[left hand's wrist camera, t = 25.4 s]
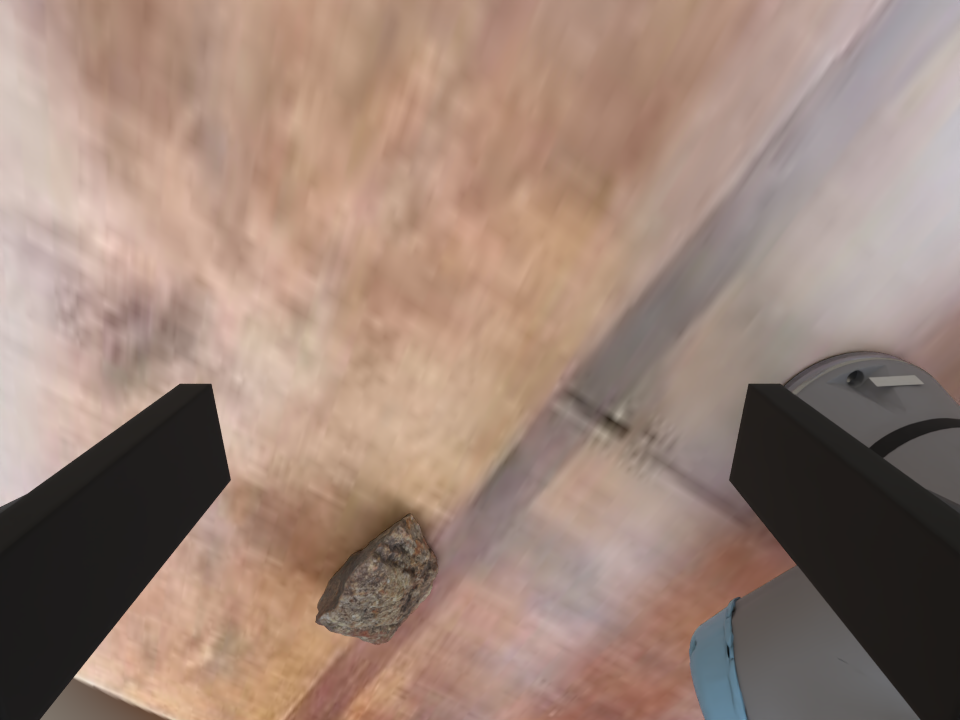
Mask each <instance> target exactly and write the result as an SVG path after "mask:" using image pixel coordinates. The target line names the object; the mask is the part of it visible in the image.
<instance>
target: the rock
mask: <svg viewBox="0 0 960 720" xmlns="http://www.w3.org/2000/svg"><path fill="white" fill-rule="evenodd" d="M437 573H438V565H437V562H436V557H435V555H434V553H433V551H432V550H431V549H430V548H429V546H428V545H427V543H426V540H425V538H424V537H423V535H422V531H421V529H420V525H419V524H418V523H417V522H416V520H415V519H414V518H413V516H412V514H407V515H406V516H405V517H404V518H402V519H401V520H400V521H398V522H397V523H395V524H393V525H392V526H391V527H390V528H389V529H387V530H386V531H384V532H383V533H381V534H380V535H379V536H378V537H377V538H376V539H374V540H372V541H371V542H370V543H369V545H368V546H367V547H366V548H364V549H363V550H362V551H358V552H356V553H354V554H352V555H351V556H350V557H349V559H348V560H347V561H346V562H345V564H344V565H343V566H342V567H341V569H340V570H339V571H338V572H336V573H335V575H334V576H333V577H332V578H331V579H330V581H329V583H328V586H327V588H326V590H325V592H324V594H323V595H322V597H321V599H320V600H319V602H318V606H317V608H318V611H319V612H318V614H317V616H316V621H315V622H316V623H317V624H319V625H323V626H325V627H326V628H327V629H328V630H329V631H331V632H335V633H339V634H342V635H345V636H352V637H358V638H360V639H361V640H363V641H366V642H370V643H373V644H376V645H380V644H382V643H385V642H388V641H389V640H390V639H391V638H392V636H393V635H394V633H395V632H396V631H397V629H398V627H399V626H401V624H402V623H403V622H404V621H405V620H406V619H407V618H408V616H409V614H412V613H413V612H414V611H415V610H416V609H417V608H418V606H419V604H420V603H421V602H423V601H424V600H425V599H426V598H427V597H428V596H429V594H430V592H431V588H432V583H433V580H434V579H435V577H436V574H437Z"/></svg>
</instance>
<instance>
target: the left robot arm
mask: <svg viewBox="0 0 960 720" xmlns="http://www.w3.org/2000/svg"><path fill="white" fill-rule="evenodd" d="M230 480H231V479H230V474H229V469H228V464H227V459H226V454H225V449H224V444H223V439H222V434H221V429H220V424H219V419H218V414H217V409H216V404H215V399H214V394H213V389H212V384H179V385H178V386H176V387H175V388H174V389H172V390H171V391H169V392H168V393H167V394H165V395H164V396H162V397H161V398H160V399H158V400H157V401H156V402H154V403H153V404H151V405H150V406H149V407H147V408H146V409H144V410H143V411H142V412H140V413H139V414H137V415H136V416H135V417H133V418H132V419H131V420H129V421H128V422H126V423H125V424H124V425H122V426H121V427H119V428H118V429H117V430H115V431H114V432H113V433H111V434H110V435H108V436H107V437H106V438H104V439H103V440H101V441H100V442H99V443H97V444H96V445H94V446H93V447H92V448H90V449H89V450H88V451H86V452H85V453H83V454H82V455H81V456H79V457H78V458H76V459H75V460H74V461H72V462H71V463H69V464H68V465H67V466H65V467H64V468H63V469H61V470H60V471H58V472H57V473H56V474H54V475H53V476H51V477H50V478H49V479H47V480H46V481H45V482H43V483H42V484H40V485H39V486H38V487H36V488H35V489H33V490H32V491H31V492H29V493H28V494H26V495H24V496H22V497H20V498H18V499H16V500H14V501H12V502H10V503H8V504H6V505H4V506H1V507H0V720H40V719H41V717H42V716H43V715H44V714H45V712H46V711H47V710H48V709H49V707H50V706H51V705H52V704H53V702H54V701H55V700H56V699H57V697H58V696H59V695H60V694H61V692H62V691H63V690H64V689H65V687H66V686H67V685H68V684H69V682H70V681H71V680H72V679H73V677H74V676H75V675H76V674H77V672H78V671H79V670H80V669H81V667H82V666H83V665H84V663H85V662H86V661H87V660H88V658H89V657H90V656H91V655H92V653H93V652H94V651H95V650H96V648H97V647H98V646H99V645H100V643H101V642H102V641H103V640H104V638H105V637H106V636H107V635H108V633H109V632H110V631H111V630H112V628H113V627H114V626H115V625H116V623H117V622H118V621H119V620H120V618H121V617H122V616H123V615H124V613H125V612H126V611H127V610H128V608H129V607H130V606H131V605H132V603H133V602H134V601H135V600H136V598H137V597H138V596H139V595H140V593H141V592H142V591H143V590H144V588H145V587H146V586H147V585H148V583H149V582H150V581H151V579H152V578H153V577H154V576H155V574H156V573H157V572H158V571H159V569H160V568H161V567H162V566H163V564H164V563H165V562H166V561H167V559H168V558H169V557H170V556H171V554H172V553H173V552H174V551H175V549H176V548H177V547H178V546H179V544H180V543H181V542H182V541H183V539H184V538H185V537H186V536H187V534H188V533H189V532H190V531H191V529H192V528H193V527H194V526H195V524H196V523H197V522H198V521H199V519H200V518H201V517H202V516H203V514H204V513H205V512H206V511H207V509H208V508H209V507H210V506H211V504H212V503H213V502H214V501H215V499H216V498H217V497H218V496H219V494H220V493H221V492H222V490H223V489H224V488H225V487H226V485H227V484H228V483H229V482H230ZM729 480H730V482H731V483H732V484H733V485H734V487H735V488H736V489H737V490H738V492H739V493H740V494H741V496H742V497H743V498H744V499H745V501H746V502H747V503H748V504H749V506H750V507H751V508H752V509H753V511H754V512H755V513H756V514H757V516H758V517H759V518H760V519H761V521H762V522H763V523H764V524H765V526H766V527H767V528H768V529H769V531H770V532H771V533H772V534H773V536H774V537H775V538H776V539H777V541H778V542H779V543H780V544H781V546H782V547H783V548H784V549H785V551H786V552H787V553H788V554H789V556H790V557H791V558H792V559H793V561H794V562H795V563H796V564H797V565H796V566H795V567H793V568H791V569H790V570H788V571H786V572H785V573H783V574H781V575H780V576H778V577H776V578H774V579H773V580H771V581H769V582H768V583H766V584H764V585H763V586H761V587H759V588H758V589H756V590H754V591H753V592H751V593H749V594H747V595H746V596H744V597H742V598H740V597H737V598H735V599H733V600H732V601H730V603H729V605H728V606H727V607H726V608H725V609H723V610H722V611H720V612H719V613H717V614H716V615H715V616H713V617H712V618H710V619H709V620H707V621H706V622H704V623H703V624H701V625H700V626H699V627H698V628H697V629H696V631H695V632H694V634H693V636H692V639H691V642H690V649H689V654H690V669H691V675H692V679H693V684H694V687H695V691H696V695H697V698H698V701H699V704H700V707H701V710H702V713H703V715H704V718H705V720H960V406H959V405H958V404H957V403H956V402H955V401H954V399H953V398H952V397H951V396H950V395H949V394H948V393H947V392H946V391H945V389H944V388H943V387H942V386H941V385H940V384H939V383H938V382H937V381H936V380H935V379H934V378H933V377H932V376H931V375H930V374H928V373H927V372H926V371H924V370H923V369H921V368H919V367H917V366H915V365H913V364H911V363H908V362H906V361H904V360H902V359H900V358H897V357H895V356H892V355H889V354H884V353H879V352H853V353H847V354H842V355H838V356H834V357H831V358H829V359H826V360H823V361H821V362H819V363H816V364H814V365H813V366H811V367H809V368H807V369H806V370H804V371H802V372H801V373H799V374H798V375H797V376H795V377H794V378H793V379H791V380H790V381H789V382H788V383H787V384H786V385H785V386H782V385H781V384H748V389H747V394H746V399H745V404H744V409H743V414H742V419H741V424H740V429H739V434H738V439H737V444H736V449H735V454H734V459H733V464H732V469H731V474H730V479H729Z"/></svg>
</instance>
